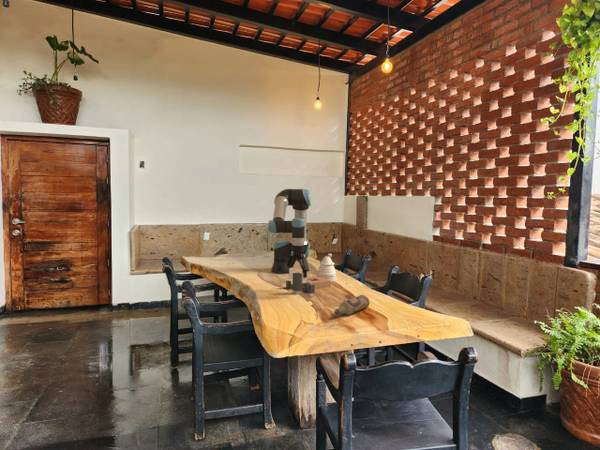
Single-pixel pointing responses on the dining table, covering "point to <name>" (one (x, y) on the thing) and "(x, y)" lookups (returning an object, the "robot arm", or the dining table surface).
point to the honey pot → (327, 269)
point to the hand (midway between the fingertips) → (297, 280)
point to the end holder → (318, 282)
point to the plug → (297, 283)
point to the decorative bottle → (353, 305)
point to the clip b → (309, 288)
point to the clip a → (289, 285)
